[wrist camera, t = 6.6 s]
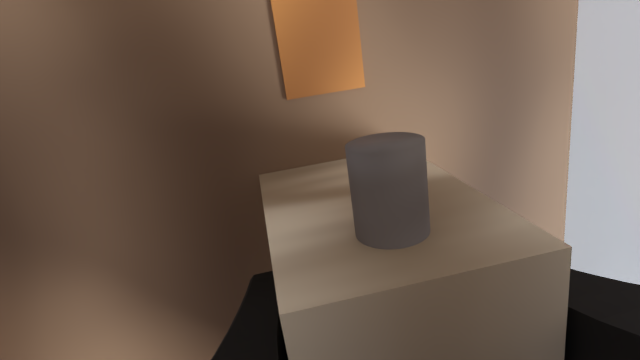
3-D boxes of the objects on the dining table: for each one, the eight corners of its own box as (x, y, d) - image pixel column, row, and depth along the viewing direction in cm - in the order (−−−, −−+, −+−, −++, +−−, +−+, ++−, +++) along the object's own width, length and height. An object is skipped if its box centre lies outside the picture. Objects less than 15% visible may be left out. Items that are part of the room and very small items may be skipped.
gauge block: (302, 397, 13) (349, 658, 7) (247, 118, 10) (255, 202, 5) (421, 365, 14) (548, 589, 8) (400, 91, 11) (579, 139, 5)
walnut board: (-63, 538, 14) (-130, 646, 11) (-391, 48, 9) (-645, 47, 6) (527, 377, 17) (578, 435, 14) (542, -67, 12) (625, -99, 9)
